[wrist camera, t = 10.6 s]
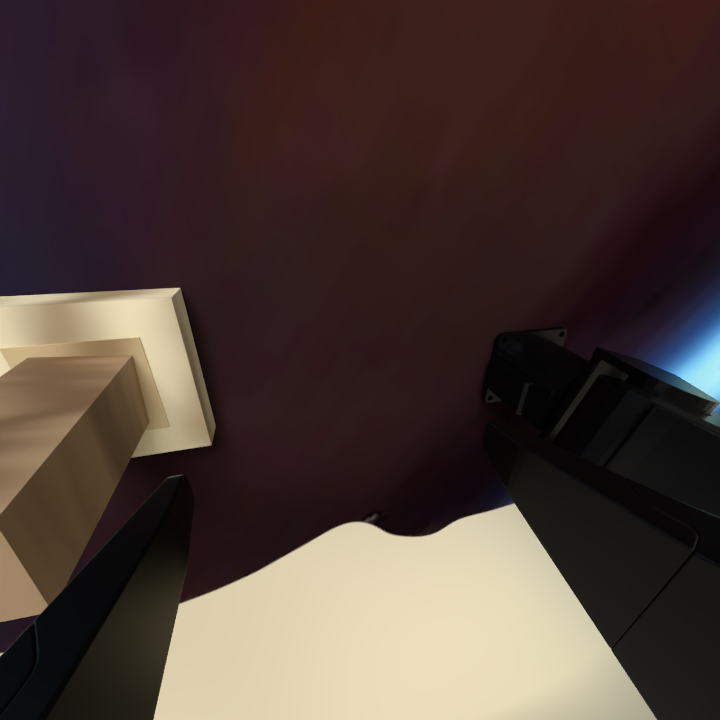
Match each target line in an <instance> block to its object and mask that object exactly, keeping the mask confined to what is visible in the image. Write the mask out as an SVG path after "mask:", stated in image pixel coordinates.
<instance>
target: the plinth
mask: <svg viewBox="0 0 720 720" xmlns="http://www.w3.org/2000/svg"><path fill="white" fill-rule="evenodd" d="M117 355H132V356H133V360H134V364H135V368H136V372H137V376H138V380H139V384H140V388H141V391H142V395H143V399H144V403H145V407H146V411H147V415H148V419H149V424H148V426H147V428H146V430H145V432H144V434H143V436H142V438H141V440H140V441H139V443H138V445H137V447H136V449H135V451H134V453H133V455H132V457H131V458H133V457H139V456H146V455H152V454H159V453H165V452H171V451H178V450H184V449H191V448H197V447H204V446H210V445H212V441H213V436H214V432H215V427H216V425H215V421H214V417H213V413H212V409H211V405H210V402H209V398H208V394H207V390H206V386H205V382H204V378H203V374H202V370H201V366H200V362H199V358H198V355H197V351H196V347H195V343H194V339H193V335H192V331H191V327H190V323H189V319H188V315H187V311H186V307H185V304H184V300H183V296H182V292H181V288H166V289H146V290H125V291H105V292H85V293H64V294H44V295H23V296H3V297H0V377H1V376H2V375H4V374H5V373H6V372H8V371H9V370H11V369H12V368H14V367H15V366H17V365H18V364H19V363H21V362H22V361H24V360H25V359H27V358H29V357H73V356H117Z"/></svg>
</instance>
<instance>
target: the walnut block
mask: <svg viewBox="0 0 720 720" xmlns="http://www.w3.org/2000/svg"><path fill="white" fill-rule="evenodd" d="M148 424H149V419H148V415H147V411H146V407H145V403H144V399H143V395H142V391H141V388H140V384H139V380H138V376H137V372H136V368H135V364H134V360H133V356H132V355H117V356H73V357H29V358H27V359H25V360H24V361H22V362H21V363H19V364H18V365H17V366H15V367H14V368H12V369H11V370H9V371H8V372H6V373H5V374H4V375H2V376H1V377H0V622H3V621H8V620H13V619H18V618H23V617H28V616H33V615H38V614H41V613H42V612H43V610H44V609H45V608H46V607H47V606H48V605H49V604H50V603H51V602H52V601H53V600H54V599H55V598H56V596H57V595H58V594H59V593H60V592H61V591H62V590H63V589H64V588H65V586H66V584H67V582H68V580H69V578H70V576H71V574H72V572H73V570H74V568H75V566H76V564H77V562H78V560H79V558H80V556H81V555H82V553H83V551H84V549H85V547H86V545H87V543H88V541H89V539H90V537H91V535H92V533H93V531H94V529H95V527H96V525H97V523H98V521H99V519H100V517H101V516H102V514H103V512H104V510H105V508H106V506H107V504H108V502H109V500H110V498H111V496H112V494H113V492H114V490H115V488H116V486H117V484H118V482H119V480H120V479H121V477H122V475H123V473H124V471H125V469H126V467H127V465H128V463H129V461H130V459H131V457H132V455H133V453H134V451H135V449H136V447H137V445H138V443H139V441H140V440H141V438H142V436H143V434H144V432H145V430H146V428H147V426H148Z"/></svg>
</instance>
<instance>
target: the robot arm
mask: <svg viewBox="0 0 720 720" xmlns="http://www.w3.org/2000/svg"><path fill="white" fill-rule="evenodd" d="M566 335H567V330H566V329H564V328H562V327H555V328H545V329H535V330H525V331H515V332H505V333H500V334H499V335H498V336H497V338H496V341H495V345H494V350H493V354H492V358H491V362H490V367H489V371H488V375H487V379H486V384H485V388H484V392H483V400H484V401H485V402H487V403H491V402H498V401H503V402H504V403H505V404H506V405H507V406H508V407H510V408H511V409H512V410H513V411H514V412H515V413H516V414H518V415H520V414H521V415H522V416H523V417H524V418H525V419H527V420H528V421H529V422H530V423H531V424H532V425H533V426H534V427H536V428H537V429H538V430H539V431H541V430H542V432H541V433H540V435H539V436H538V437H537V436H535V435H532V434H530V433H528V432H526V431H524V430H522V429H519V428H517V427H515V426H513V425H511V424H508V423H506V422H504V421H502V420H494V421H489V422H488V423H487V424H486V428H485V432H484V436H483V440H482V444H483V448H484V450H485V452H486V454H487V455H488V457H489V459H490V461H491V463H492V465H493V467H494V469H495V470H496V472H497V474H498V476H499V478H500V480H501V482H502V484H503V485H504V487H505V489H506V491H507V492H508V494H509V495H510V497H511V498H512V500H513V501H514V503H515V504H516V506H517V507H518V509H519V511H520V512H521V514H522V515H523V517H524V518H525V520H526V521H527V523H528V524H529V526H530V527H531V529H532V530H533V532H534V533H535V535H536V536H537V538H538V539H539V541H540V542H541V544H542V545H543V547H544V548H545V550H546V551H547V553H548V554H549V556H550V558H551V559H552V561H553V562H554V564H555V565H556V567H557V568H558V570H559V571H560V573H561V574H562V576H563V577H564V579H565V580H566V582H567V583H568V585H569V586H570V588H571V589H572V591H573V592H574V594H575V595H576V597H577V598H578V600H579V602H580V603H581V604H582V606H583V608H584V609H585V610H586V612H587V614H588V615H589V617H590V618H591V620H592V621H593V623H594V624H595V626H596V627H597V629H598V630H599V632H600V633H601V635H602V636H603V638H604V639H605V641H606V642H607V644H608V645H609V647H610V648H612V652H613V653H614V655H615V656H616V658H617V659H618V661H619V662H620V664H621V666H622V667H623V669H624V670H625V672H626V673H627V675H628V676H629V677H630V679H631V681H632V682H633V684H634V685H635V687H636V688H637V690H638V691H639V693H640V694H641V696H642V697H643V699H644V700H645V702H646V703H647V705H648V706H649V708H650V709H651V711H652V712H653V714H654V716H655V717H656V718H657V720H720V414H718V413H716V412H714V411H713V410H714V409H715V408H716V407H717V406H718V404H719V403H720V402H719V401H717V400H716V399H714V398H712V397H711V396H709V395H708V394H706V393H704V392H703V391H701V390H699V389H698V388H696V387H694V386H693V385H691V384H690V383H688V382H686V381H685V380H683V379H681V378H680V377H678V376H676V375H674V374H672V373H670V372H667V371H665V370H662V369H660V368H658V367H655V366H653V365H651V364H648V363H646V362H644V361H641V360H639V359H636V358H632V357H629V356H626V355H622V354H619V353H616V352H613V351H609V350H606V349H603V348H599V347H597V348H596V349H595V350H594V352H593V353H592V354H593V356H592V358H591V359H590V361H588V360H587V359H585V358H583V357H581V356H579V355H577V354H575V353H573V352H571V351H569V350H568V349H566V348H564V347H562V346H563V344H564V341H565V338H566ZM503 338H504V340H503V341H502V339H503ZM193 508H194V496H193V493H192V490H191V487H190V484H189V481H188V478H187V476H186V475H183V474H182V475H176V476H170V477H168V478H166V479H165V480H164V481H163V482H162V483H161V485H160V486H159V487H158V488H157V489H156V490H155V491H154V492H153V493H152V494H151V495H150V496H149V497H148V499H147V500H146V501H145V502H144V503H143V504H142V505H141V506H140V507H139V508H138V509H137V510H136V511H135V513H134V514H133V515H132V516H131V517H130V518H129V519H128V520H127V521H126V522H125V523H124V524H123V525H122V527H121V528H120V529H119V530H118V531H117V532H116V533H115V534H114V535H113V536H112V537H111V538H110V539H109V541H108V542H107V543H106V544H105V545H104V546H103V547H102V548H101V549H100V550H99V551H98V552H97V553H96V555H95V556H94V557H93V558H92V559H91V560H90V561H89V562H88V563H87V564H86V565H85V566H84V567H83V569H82V570H81V571H80V572H79V573H78V574H77V575H76V576H75V577H74V578H73V579H72V580H71V581H70V582H69V584H68V585H67V586H66V587H65V588H64V589H63V590H62V591H61V592H60V593H59V594H58V595H57V596H56V598H55V599H54V600H53V601H52V602H51V603H50V604H49V605H48V606H47V607H46V608H45V609H44V610H43V612H42V613H41V614H40V615H39V616H38V617H37V618H36V619H35V621H34V624H32V625H30V626H28V628H27V629H26V630H25V631H24V632H23V633H22V634H21V635H20V636H19V637H18V638H17V639H16V640H15V641H14V643H13V644H12V645H11V646H10V647H9V648H8V649H7V650H6V651H5V652H4V653H3V654H2V655H1V656H0V720H153V719H154V714H155V709H156V705H157V701H158V696H159V691H160V687H161V682H162V678H163V673H164V669H165V664H166V660H167V655H168V650H169V646H170V642H171V637H172V633H173V628H174V623H175V619H176V614H177V610H178V605H179V601H180V596H181V592H182V587H183V583H184V578H185V574H186V568H187V563H188V555H189V546H190V537H191V527H192V518H193Z"/></svg>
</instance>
